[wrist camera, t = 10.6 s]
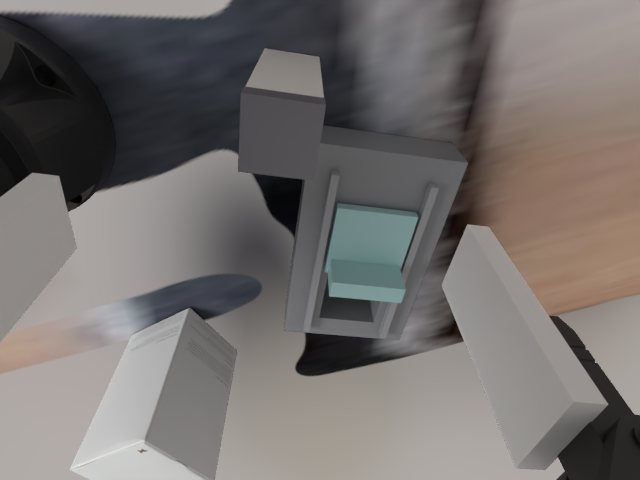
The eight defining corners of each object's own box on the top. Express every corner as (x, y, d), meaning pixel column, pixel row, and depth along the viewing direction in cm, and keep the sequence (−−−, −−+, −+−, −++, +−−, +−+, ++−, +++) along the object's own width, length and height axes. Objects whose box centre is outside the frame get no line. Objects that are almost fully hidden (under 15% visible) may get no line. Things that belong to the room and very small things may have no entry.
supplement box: (129, 333, 46) (63, 470, 33) (190, 304, 43) (143, 441, 31) (181, 375, 50) (140, 509, 38) (239, 351, 48) (216, 486, 36)
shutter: (324, 266, 35) (326, 296, 32) (337, 202, 31) (340, 229, 28) (395, 273, 36) (403, 303, 33) (416, 212, 32) (427, 239, 29)
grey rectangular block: (260, 104, 31) (238, 171, 21) (263, 47, 29) (240, 92, 19) (312, 111, 31) (314, 180, 22) (320, 56, 29) (326, 105, 19)
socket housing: (285, 302, 43) (283, 336, 39) (310, 123, 32) (310, 146, 28) (392, 312, 45) (400, 346, 41) (452, 143, 33) (471, 167, 29)
